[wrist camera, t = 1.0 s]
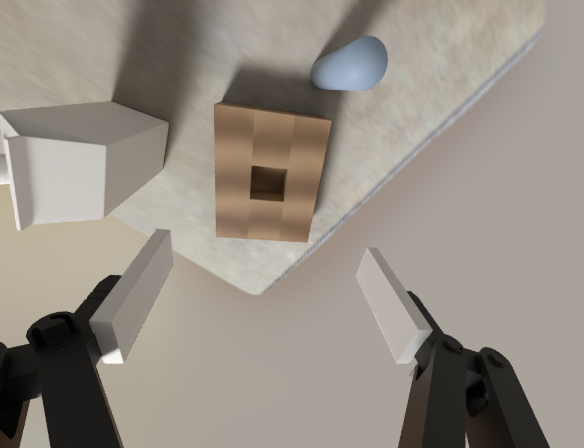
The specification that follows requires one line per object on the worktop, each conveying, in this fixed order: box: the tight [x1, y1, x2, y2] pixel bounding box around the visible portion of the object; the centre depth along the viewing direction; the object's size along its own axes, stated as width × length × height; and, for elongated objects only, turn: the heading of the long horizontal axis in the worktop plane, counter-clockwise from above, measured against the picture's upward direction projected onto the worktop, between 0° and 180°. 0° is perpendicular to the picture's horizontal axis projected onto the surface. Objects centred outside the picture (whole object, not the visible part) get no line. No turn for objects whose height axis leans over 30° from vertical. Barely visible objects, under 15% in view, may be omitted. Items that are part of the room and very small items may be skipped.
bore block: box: [214, 102, 332, 242], centre depth 35 cm, size 18×14×5 cm
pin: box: [310, 36, 388, 91], centre depth 25 cm, size 4×4×15 cm
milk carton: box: [0, 101, 169, 231], centre depth 25 cm, size 7×7×19 cm
